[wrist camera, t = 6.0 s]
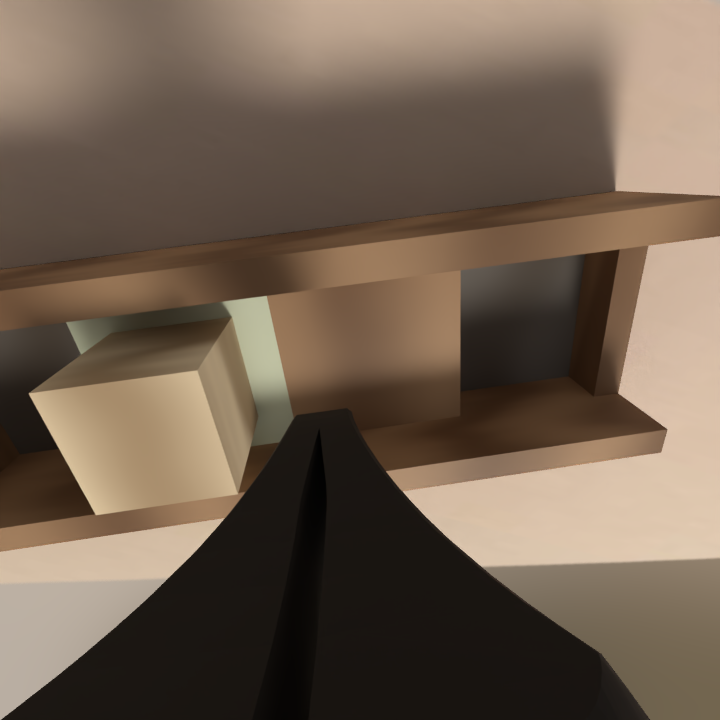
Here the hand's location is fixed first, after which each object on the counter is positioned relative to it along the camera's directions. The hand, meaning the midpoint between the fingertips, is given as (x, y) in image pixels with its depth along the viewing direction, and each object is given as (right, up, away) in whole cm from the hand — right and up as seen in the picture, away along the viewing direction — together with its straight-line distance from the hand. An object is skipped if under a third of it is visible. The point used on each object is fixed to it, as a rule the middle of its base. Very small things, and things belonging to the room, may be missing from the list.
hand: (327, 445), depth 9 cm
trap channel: (-2, +3, +6) cm, 7 cm away
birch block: (-5, +1, +4) cm, 7 cm away
